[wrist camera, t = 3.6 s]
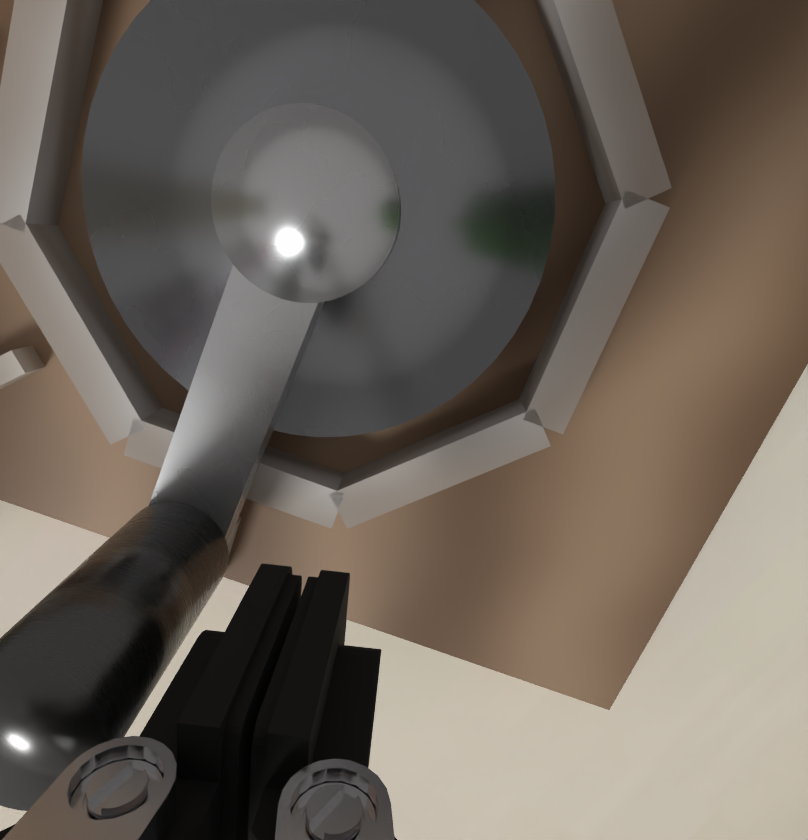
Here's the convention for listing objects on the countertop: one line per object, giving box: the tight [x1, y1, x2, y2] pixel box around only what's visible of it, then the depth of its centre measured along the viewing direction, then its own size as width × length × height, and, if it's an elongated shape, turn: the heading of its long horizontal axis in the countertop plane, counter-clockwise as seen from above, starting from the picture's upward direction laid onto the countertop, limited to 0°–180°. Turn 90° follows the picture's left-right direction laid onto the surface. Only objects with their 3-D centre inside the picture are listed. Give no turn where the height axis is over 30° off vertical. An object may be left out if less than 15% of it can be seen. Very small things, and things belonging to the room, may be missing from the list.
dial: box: [0, 0, 555, 811], centre depth 11 cm, size 14×10×8 cm
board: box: [0, 0, 808, 710], centre depth 14 cm, size 24×20×3 cm
